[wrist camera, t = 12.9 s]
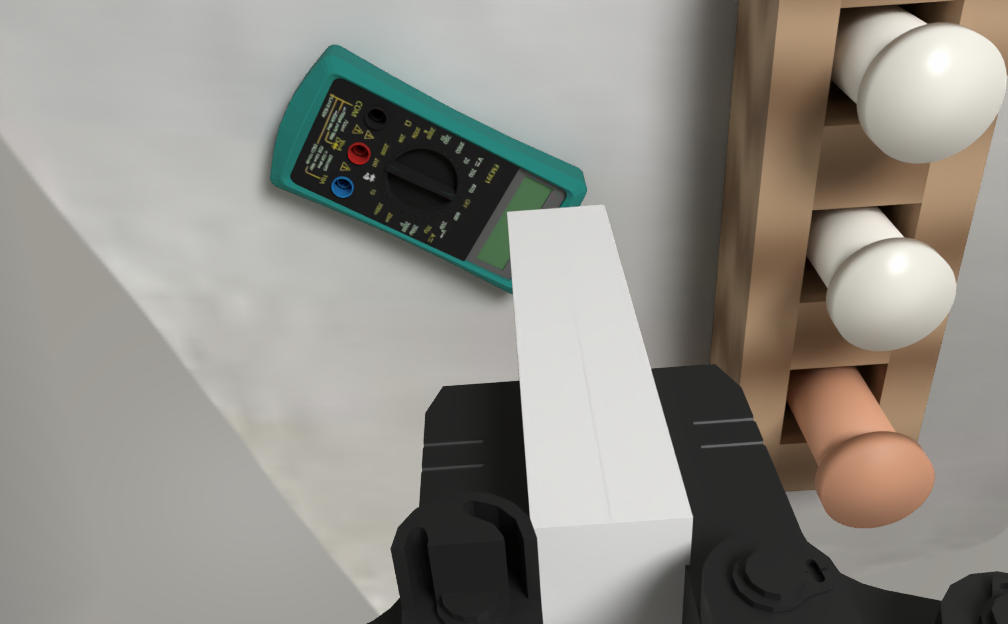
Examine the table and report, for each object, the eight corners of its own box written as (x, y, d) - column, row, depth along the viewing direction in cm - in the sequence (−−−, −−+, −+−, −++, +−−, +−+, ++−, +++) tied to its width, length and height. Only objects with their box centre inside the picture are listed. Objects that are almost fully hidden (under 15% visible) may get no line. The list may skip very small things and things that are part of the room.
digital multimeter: (321, 31, 42) (312, 49, 40) (589, 169, 47) (596, 193, 44) (265, 159, 46) (253, 184, 43) (520, 277, 50) (522, 305, 47)
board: (747, -104, 39) (787, -82, 34) (975, -120, 39) (1050, -100, 34) (704, 426, 55) (728, 495, 50) (867, 415, 55) (907, 483, 50)
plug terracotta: (772, 337, 48) (829, 449, 40) (870, 331, 48) (945, 441, 40) (763, 413, 51) (814, 531, 43) (855, 407, 51) (923, 524, 43)
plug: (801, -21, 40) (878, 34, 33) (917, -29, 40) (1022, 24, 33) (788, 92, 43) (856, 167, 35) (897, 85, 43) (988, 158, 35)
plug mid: (779, 166, 45) (842, 252, 37) (883, 159, 45) (967, 244, 37) (769, 257, 48) (826, 355, 40) (867, 250, 48) (942, 347, 40)
